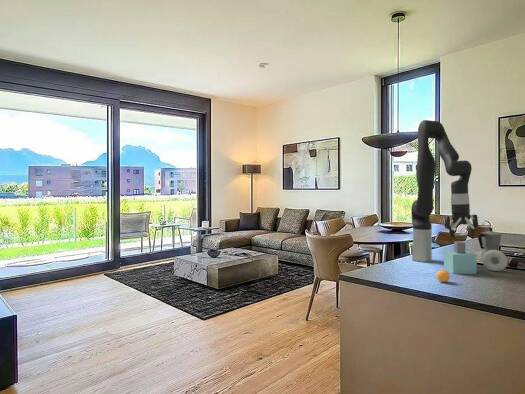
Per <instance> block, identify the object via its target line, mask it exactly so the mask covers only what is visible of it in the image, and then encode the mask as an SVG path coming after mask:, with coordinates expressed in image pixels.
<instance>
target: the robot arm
mask: <svg viewBox="0 0 525 394" xmlns="http://www.w3.org/2000/svg"><path fill="white" fill-rule="evenodd" d="M429 139H434V140H436V141H437V143H438V145H437V152H438V154H439V157H440V158H441V159H442V161H443V164H444V167H445V172H446V174H447V175H448V176H449V177H450V176H451V177H458V176H459V178H458V179H457V180H454V181H452V182H451V183H450V189H451V190H450V191H451V195H450V203H451V204H450V205H451V208H450V209H451V215H445V216H444V229H447V230H448V231H449V232H448V233H449V237H450V238H452V239H454V238H455V228H456V227H457V226H458V225H459V226H461V225H466V226H467V227H468V236H469V237H470V238H473V237H474V236H475V229H476V228H479V220H478V219H479V217H478V215H477V214H475V213H474V214H470V213H471V209H470V208H471V207H470V206H471V205H470V195H469V182H470V177H471V174H472V164H471V163H470V161H468V160H459V159H460V155H459V153H458V152H457V150H456V148H454V146H453V145H452V143H451V141H450V139H449V137H448V134H447V132H446V130H445V127H444V125H443V124H442V123H441V122H440V121H438V120H429V119H428V120H427V119H423V120H422V121H420V122H419V125H418V128H417V162H416V170H415V171H416V172H415V173H416V174H415V176H416V177H415V178H416V183H417V188H418V190H417V191H418V192H417V199H416V200H414V201H413V202H412V204H411V208H410V209H411V210H410V211H411V223H412V243H411V247H412V248H411V251H412V252H411V253H412V254H411V259H412V261H415V262H421V263H426V262H427V263H429V262H432V261H433V248H432V246H433V245H432V244H433V242H432V241H433V238H432V237H433V236H432V235H433V233H432V228H433V226H432V222H431V220H430V215H432V213H433V211H434V185H435V176H436V168H437V166H436V165H437V163H436V160H435V157H434V155H433V153H432V152H431V149H430V145H429V144H430V143H429ZM470 219H471V221H470Z"/></svg>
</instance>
